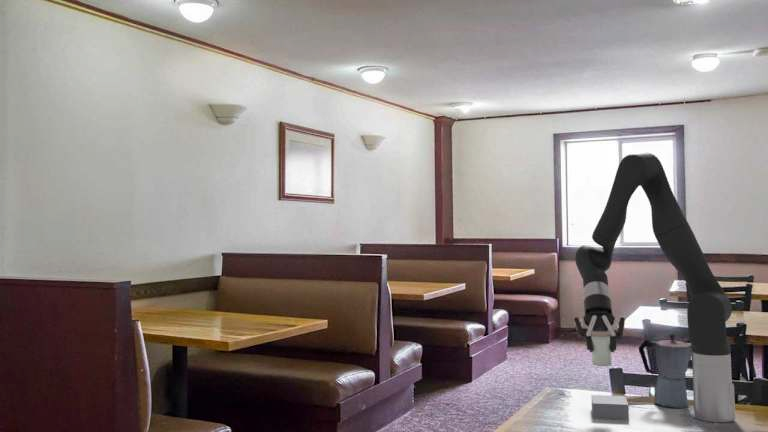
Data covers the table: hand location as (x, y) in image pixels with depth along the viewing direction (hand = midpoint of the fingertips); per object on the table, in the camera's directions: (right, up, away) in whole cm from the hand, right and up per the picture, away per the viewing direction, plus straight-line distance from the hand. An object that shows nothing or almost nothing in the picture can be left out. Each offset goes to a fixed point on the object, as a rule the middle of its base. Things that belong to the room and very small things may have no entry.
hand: (601, 350), depth 179 cm
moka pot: (+22, -18, +9) cm, 30 cm away
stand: (+3, -18, +1) cm, 18 cm away
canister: (+1, -4, +2) cm, 5 cm away
